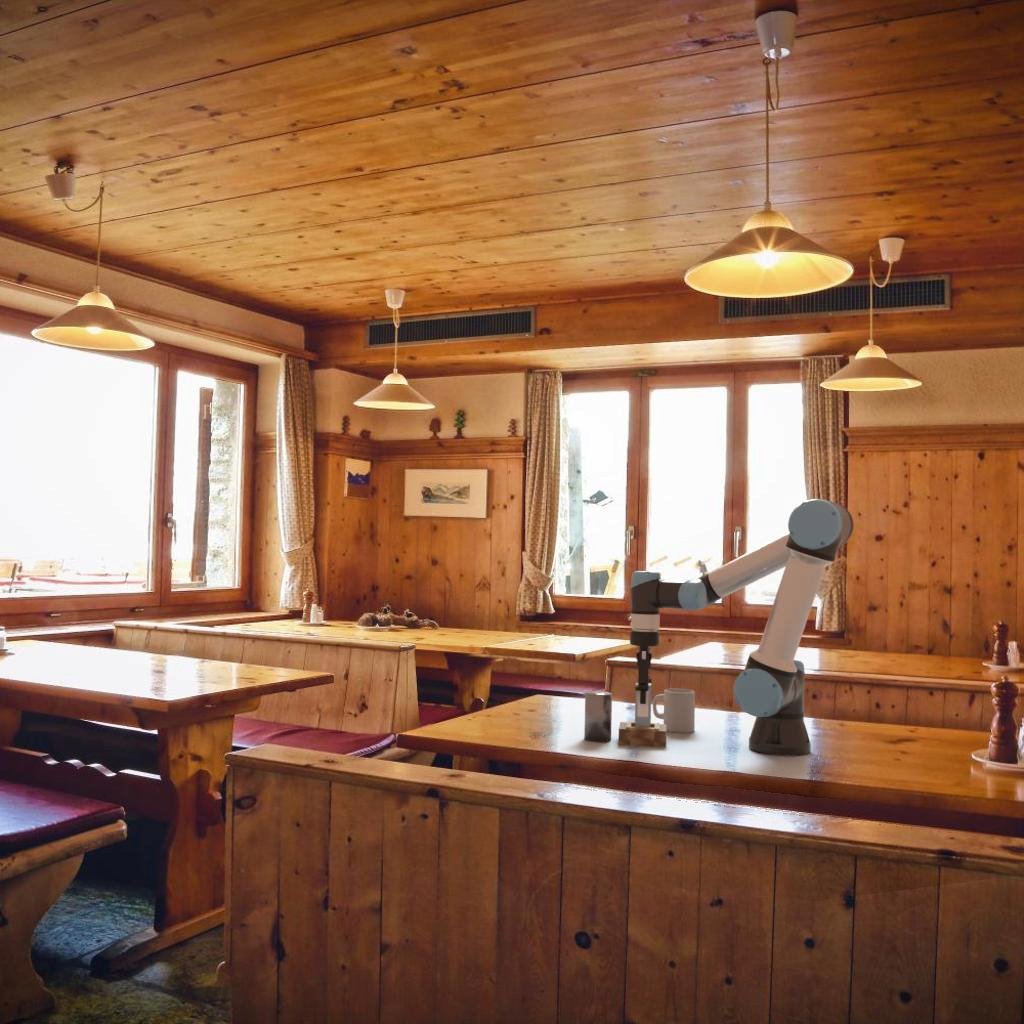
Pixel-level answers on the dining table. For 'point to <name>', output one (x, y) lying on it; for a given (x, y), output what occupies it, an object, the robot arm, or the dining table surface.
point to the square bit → (647, 720)
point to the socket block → (642, 735)
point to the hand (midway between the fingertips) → (643, 712)
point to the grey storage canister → (598, 716)
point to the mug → (677, 710)
